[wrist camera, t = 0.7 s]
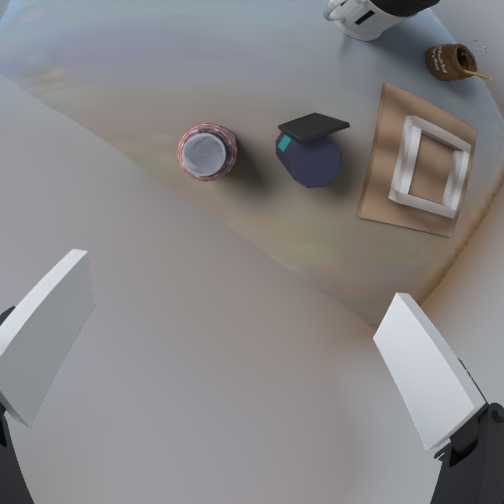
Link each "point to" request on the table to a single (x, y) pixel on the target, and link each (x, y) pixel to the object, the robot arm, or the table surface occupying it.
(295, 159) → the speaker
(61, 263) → the robot arm
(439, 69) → the utensil holder
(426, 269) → the table surface
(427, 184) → the socket plate
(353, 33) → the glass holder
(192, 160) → the supplement bottle
